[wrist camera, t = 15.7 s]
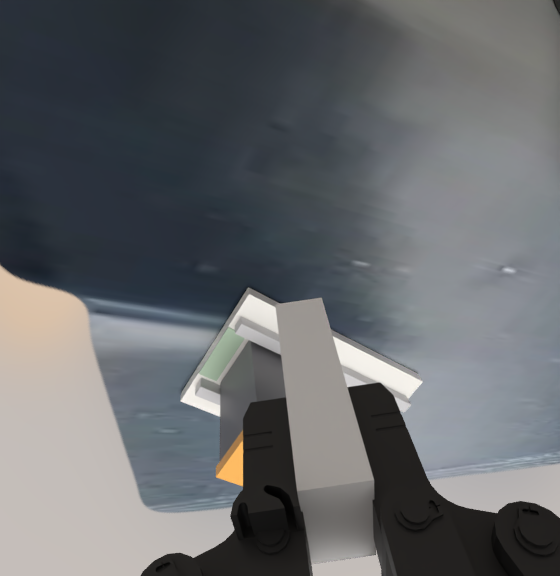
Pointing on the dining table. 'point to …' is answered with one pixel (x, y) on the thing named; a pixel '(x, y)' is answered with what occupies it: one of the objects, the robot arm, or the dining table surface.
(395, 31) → the dining table surface
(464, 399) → the dining table surface
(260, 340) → the railed base plate
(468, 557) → the robot arm
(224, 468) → the handle
